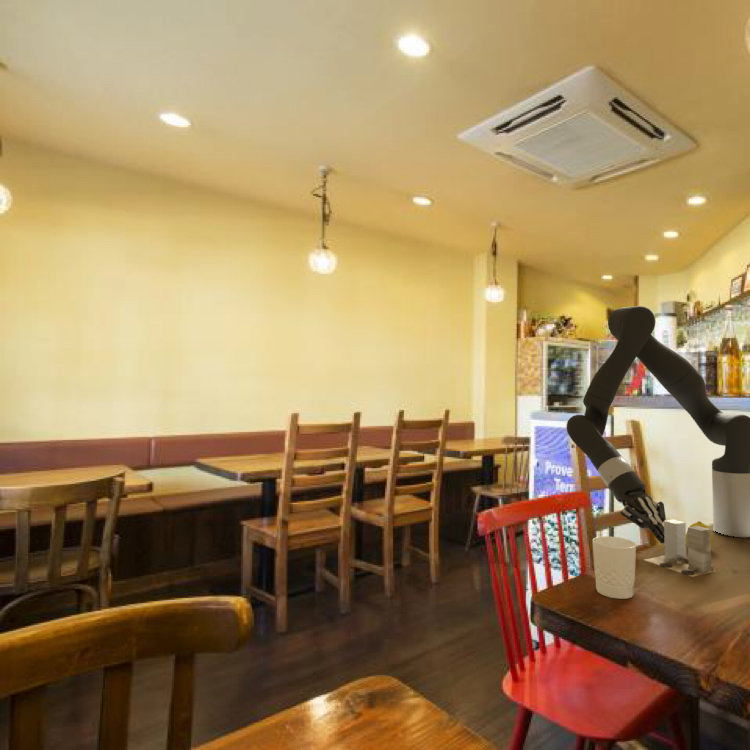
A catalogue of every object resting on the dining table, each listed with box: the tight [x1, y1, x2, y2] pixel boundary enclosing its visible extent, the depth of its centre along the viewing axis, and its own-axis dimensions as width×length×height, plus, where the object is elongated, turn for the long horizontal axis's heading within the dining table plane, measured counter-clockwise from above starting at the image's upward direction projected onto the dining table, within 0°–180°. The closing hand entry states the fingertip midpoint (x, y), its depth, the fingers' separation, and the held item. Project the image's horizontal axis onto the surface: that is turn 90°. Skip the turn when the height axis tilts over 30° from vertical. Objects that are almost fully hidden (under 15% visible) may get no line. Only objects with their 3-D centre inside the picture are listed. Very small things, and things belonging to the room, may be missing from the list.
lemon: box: [686, 521, 714, 549], centre depth 125 cm, size 6×6×8 cm
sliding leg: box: [663, 519, 687, 565], centre depth 116 cm, size 5×3×9 cm, turn 114°
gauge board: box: [643, 526, 716, 578], centre depth 114 cm, size 8×12×10 cm, turn 24°
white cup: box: [591, 535, 637, 600], centre depth 103 cm, size 8×8×10 cm
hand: (666, 541), depth 118 cm, fingers closed
